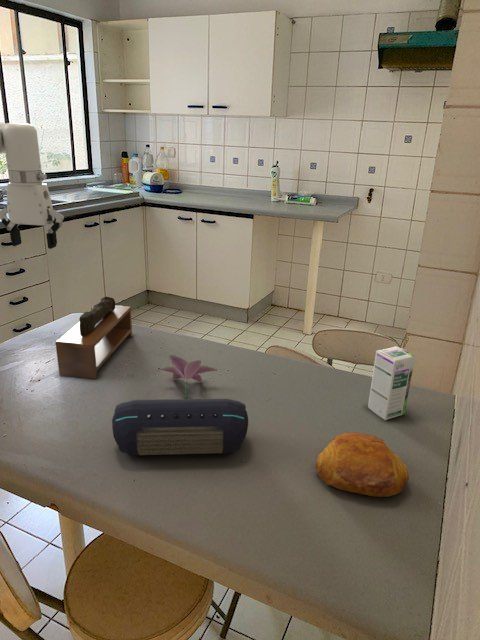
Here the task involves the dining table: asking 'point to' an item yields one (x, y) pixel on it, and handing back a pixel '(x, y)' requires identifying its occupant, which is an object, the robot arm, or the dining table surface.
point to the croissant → (362, 465)
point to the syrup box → (391, 382)
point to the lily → (187, 369)
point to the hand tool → (96, 315)
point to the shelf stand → (93, 344)
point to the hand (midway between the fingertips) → (34, 246)
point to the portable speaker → (179, 426)
